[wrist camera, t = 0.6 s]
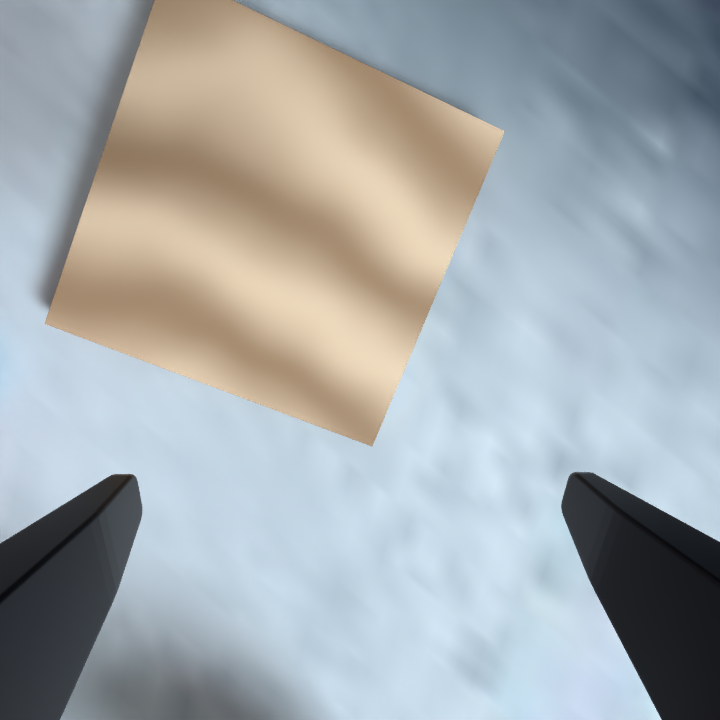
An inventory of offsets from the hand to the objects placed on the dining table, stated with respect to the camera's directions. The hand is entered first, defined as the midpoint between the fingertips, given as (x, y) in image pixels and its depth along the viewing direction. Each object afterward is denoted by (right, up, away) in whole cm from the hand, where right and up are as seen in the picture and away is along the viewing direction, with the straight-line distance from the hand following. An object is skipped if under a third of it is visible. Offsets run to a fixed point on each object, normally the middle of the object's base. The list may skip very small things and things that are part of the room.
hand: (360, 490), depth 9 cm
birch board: (-4, +9, +13) cm, 16 cm away
